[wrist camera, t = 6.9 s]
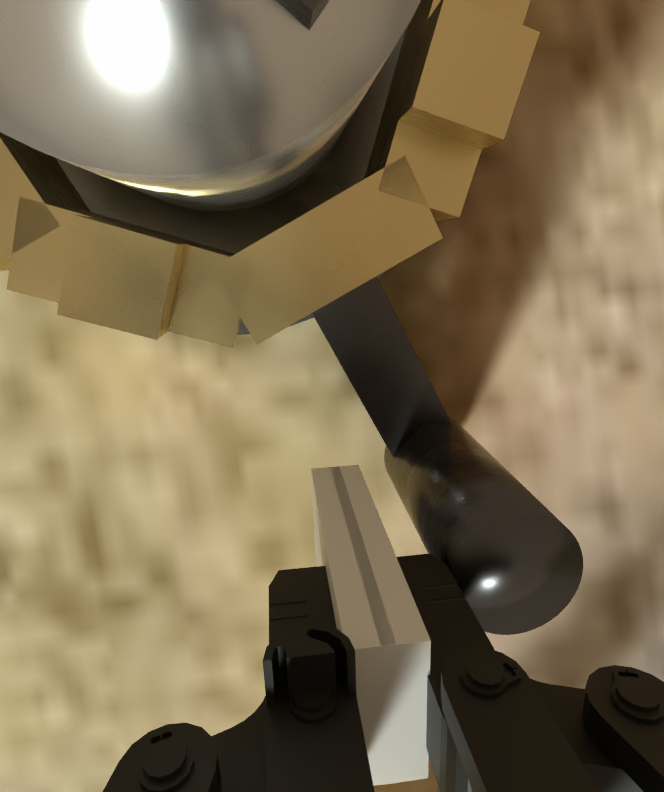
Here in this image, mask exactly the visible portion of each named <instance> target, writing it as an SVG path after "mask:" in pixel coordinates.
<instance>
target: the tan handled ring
mask: <svg viewBox="0 0 664 792" xmlns="http://www.w3.org/2000/svg"><path fill="white" fill-rule="evenodd" d="M530 1H531V0H421V1H420V3H419V5H418V7H417V10H416V12H415V14H414V16H413V17H412V19H411V21H410V22H409V24H408V26H407V28H406V32H405V36H404V39H403V43H402V46H401V50H400V53H399V57H398V60H397V64H396V67H395V71H394V75H393V78H392V82H391V85H390V89H389V92H388V96H387V99H386V103H385V106H384V110H383V113H382V117H381V121H380V124H379V128H378V131H377V135H376V138H375V142H374V145H373V149H372V152H371V156H370V159H369V163H368V167H367V170H366V174H365V177H364V180H362V181H360V182H359V183H357V184H355V185H353V186H352V187H350V188H348V189H347V190H345V191H343V192H341V193H340V194H338V195H336V196H335V197H333V198H331V199H329V200H328V201H326V202H324V203H322V204H321V205H319V206H317V207H316V208H314V209H312V210H310V211H309V212H307V213H305V214H304V215H302V216H300V217H298V218H297V219H295V220H293V221H291V222H290V223H288V224H286V225H285V226H283V227H281V228H279V229H278V230H276V231H274V232H273V233H271V234H269V235H267V236H266V237H264V238H262V239H260V240H259V241H257V242H255V243H254V244H252V245H250V246H248V247H247V248H245V249H243V250H242V251H240V252H238V253H236V254H234V253H231V252H227V251H224V250H221V249H217V248H214V247H210V246H207V245H203V244H200V243H196V242H193V241H190V240H186V239H183V238H179V237H176V236H172V235H169V234H165V233H162V232H158V231H155V230H152V229H148V228H145V227H141V226H138V225H134V224H131V223H127V222H124V221H120V220H117V219H114V218H110V217H107V216H103V215H100V214H96V213H93V212H91V211H90V210H89V208H88V207H87V205H86V204H85V202H84V201H83V199H82V197H81V196H80V194H79V193H78V191H77V190H76V188H75V187H74V185H73V184H72V182H71V181H70V179H69V178H68V176H67V175H66V173H65V172H64V170H63V169H62V167H61V166H60V164H59V162H58V161H57V159H56V158H55V157H53V156H51V155H48V154H46V153H43V152H41V151H38V150H36V149H34V148H32V147H30V146H28V145H26V144H24V143H21V142H19V141H17V140H15V139H13V138H11V137H9V136H7V135H5V134H3V133H1V132H0V271H1V270H9V277H8V284H7V289H8V290H11V291H15V292H19V293H23V294H27V295H31V296H35V297H39V298H42V299H46V300H50V301H54V302H58V303H59V306H58V312H57V314H58V315H62V316H66V317H70V318H74V319H78V320H82V321H85V322H89V323H93V324H97V325H101V326H105V327H109V328H113V329H117V330H121V331H125V332H129V333H133V334H136V335H140V336H144V337H148V338H152V339H156V340H157V339H159V338H160V337H161V336H162V335H163V334H165V333H166V332H167V331H170V332H174V333H178V334H182V335H186V336H189V337H193V338H197V339H201V340H205V341H209V342H213V343H216V344H220V345H224V346H228V347H233V344H234V342H235V339H236V336H237V334H238V331H239V329H240V325H241V321H243V322H244V324H245V326H246V327H247V329H248V330H249V332H250V334H251V335H252V337H253V339H254V340H255V342H256V344H258V343H260V342H262V341H264V340H265V339H267V338H269V337H271V336H272V335H274V334H276V333H278V332H279V331H281V330H283V329H285V328H286V327H288V326H290V325H292V324H293V323H295V322H297V321H299V320H300V319H302V318H304V317H306V316H307V315H309V314H311V313H312V314H313V316H314V318H315V319H316V321H317V323H318V325H319V326H320V328H321V330H322V332H323V334H324V335H325V337H326V339H327V341H328V342H329V344H330V346H331V348H332V350H333V351H334V353H335V355H336V357H337V358H338V360H339V362H340V364H341V366H342V367H343V369H344V371H345V373H346V374H347V376H348V378H349V380H350V382H351V383H352V385H353V387H354V389H355V390H356V392H357V394H358V396H359V398H360V399H361V401H362V403H363V405H364V406H365V408H366V410H367V412H368V414H369V415H370V417H371V419H372V421H373V422H374V424H375V426H376V428H377V430H378V431H379V433H380V435H381V437H382V438H383V440H384V442H385V444H386V449H385V455H384V459H385V466H386V470H387V472H388V474H389V476H390V478H391V480H392V482H393V484H394V486H395V488H396V490H397V492H398V494H399V496H400V498H401V500H402V502H403V504H404V506H405V508H406V510H407V512H408V514H409V516H410V518H411V520H412V522H413V524H414V526H415V528H416V530H417V532H418V534H419V536H420V538H421V540H422V542H423V544H424V546H425V548H426V550H427V552H428V554H432V555H433V556H435V557H436V558H437V559H439V560H440V561H441V562H443V563H444V564H445V565H447V566H448V568H449V569H450V571H451V573H452V575H453V577H454V578H455V580H456V582H457V586H459V587H460V589H461V591H462V593H463V594H464V596H465V600H467V602H468V603H469V605H470V607H471V609H472V611H473V612H474V614H475V616H476V618H477V619H478V621H479V623H480V625H481V627H482V628H483V630H484V631H485V632H489V633H493V634H501V635H510V634H518V633H523V632H527V631H530V630H533V629H535V628H537V627H540V626H542V625H544V624H545V623H547V622H549V621H550V620H552V619H553V618H554V617H556V616H557V615H558V614H559V613H560V612H561V611H562V610H563V609H564V608H565V607H566V606H567V605H568V604H569V602H570V601H571V599H572V598H573V596H574V595H575V593H576V591H577V589H578V586H579V584H580V581H581V577H582V571H583V557H582V552H581V549H580V546H579V543H578V542H577V540H576V538H575V536H574V535H573V534H572V533H571V531H570V530H569V529H568V528H566V527H565V526H564V525H563V524H562V523H561V522H560V521H559V520H558V519H557V518H556V517H555V516H554V515H553V514H552V513H551V512H550V511H549V510H548V509H547V508H546V507H545V506H544V505H543V504H542V503H540V502H539V501H538V500H537V499H536V498H535V497H534V496H533V495H532V494H531V493H530V492H529V491H528V490H527V489H526V488H525V487H524V486H523V485H522V484H521V483H520V482H519V481H518V480H517V479H515V478H514V477H513V476H512V475H511V474H510V473H509V472H508V471H507V470H506V469H505V468H504V467H503V466H502V465H501V464H500V463H499V462H498V461H497V460H496V459H495V458H494V457H493V456H492V455H491V454H489V453H488V452H487V451H486V450H485V449H484V448H483V447H482V446H481V445H480V444H479V443H478V442H477V441H476V440H475V439H474V438H473V437H472V436H471V435H470V434H469V433H468V432H467V431H466V430H465V429H463V428H462V427H461V426H460V425H459V424H458V423H457V422H456V421H455V420H453V419H452V418H450V417H448V416H447V414H446V412H445V410H444V408H443V406H442V404H441V402H440V400H439V398H438V396H437V394H436V392H435V390H434V388H433V386H432V384H431V383H430V381H429V379H428V377H427V375H426V373H425V371H424V369H423V367H422V365H421V363H420V361H419V359H418V357H417V355H416V353H415V351H414V349H413V347H412V345H411V343H410V341H409V339H408V338H407V336H406V334H405V332H404V330H403V328H402V326H401V324H400V322H399V320H398V318H397V316H396V314H395V312H394V310H393V308H392V306H391V304H390V302H389V300H388V298H387V296H386V294H385V293H384V291H383V289H382V287H381V285H380V283H379V281H378V279H377V277H376V276H377V275H379V274H381V273H383V272H384V271H386V270H388V269H390V268H391V267H393V266H395V265H397V264H398V263H400V262H402V261H404V260H405V259H407V258H409V257H411V256H412V255H414V254H416V253H418V252H419V251H421V250H423V249H425V248H426V247H428V246H430V245H432V244H433V243H435V242H437V241H439V240H440V239H442V238H443V237H442V235H441V232H440V230H439V228H438V226H437V224H436V222H435V221H438V220H445V219H452V218H459V217H460V215H461V212H462V209H463V205H464V202H465V199H466V196H467V193H468V190H469V187H470V184H471V181H472V178H473V175H474V172H475V169H476V166H477V163H478V160H479V157H480V154H481V151H482V149H485V148H487V147H489V146H491V145H493V144H496V143H498V142H500V141H502V140H504V138H505V135H506V132H507V129H508V126H509V123H510V120H511V117H512V114H513V111H514V108H515V105H516V102H517V99H518V96H519V93H520V90H521V88H522V85H523V82H524V79H525V76H526V73H527V70H528V67H529V64H530V61H531V58H532V55H533V52H534V49H535V46H536V43H537V40H538V37H539V34H540V32H539V31H536V30H534V29H532V28H529V27H527V26H524V25H523V23H524V20H525V17H526V14H527V11H528V7H529V4H530Z"/></svg>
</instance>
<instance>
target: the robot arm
mask: <svg viewBox="0 0 664 792" xmlns="http://www.w3.org/2000/svg"><path fill="white" fill-rule="evenodd" d="M311 479H312V498H313V518H314V537H315V556H316V564H317V567H309V568H299V569H289V570H279V571H278V572H277V574H276V576H275V577H274V579H273V581H272V582H271V584H270V586H269V645H268V646H267V647H266V651H265V655H264V658H263V668H264V679H265V690H266V696H265V698H264V701H263V702H262V704H261V705H260V706H259V707H258V709H257V710H256V711H255V712H254V713H253V714H252V715H251V716H249V717H248V718H247V719H246V720H245V721H243V722H241V723H239V724H238V725H236V726H234V727H232V728H230V729H228V730H225V731H223V732H221V733H218V734H216V735H214V736H210V735H209V734H208V733H207V732H206V731H205V730H204V729H203V728H202V727H198V726H195V725H192V724H188V723H179V724H168V725H165V726H163V727H160V728H158V729H155V730H153V731H150V732H148V733H147V734H146V735H144V736H143V737H142V738H140V739H139V740H138V741H136V742H135V743H134V744H132V745H131V747H130V748H129V749H128V751H127V752H126V753H125V755H124V756H123V757H122V759H121V760H120V761H119V763H118V765H117V766H116V768H115V770H114V772H113V774H112V776H111V778H110V779H109V781H108V783H107V785H106V787H105V789H104V790H103V792H374V786H376V785H386V784H393V783H399V782H406V781H413V780H420V779H427V778H428V764H429V757H430V760H431V764H432V767H433V770H434V773H435V776H436V779H437V782H438V792H664V682H663V681H661V680H660V679H658V678H656V677H655V676H653V675H651V674H649V673H646V672H643V671H641V670H638V669H635V668H632V667H624V666H616V665H614V666H608V667H602V668H599V669H597V670H596V671H595V672H593V673H592V674H591V675H589V678H588V681H587V684H586V689H578V688H572V687H565V686H558V685H551V684H546V683H542V682H538V681H535V680H532V679H530V678H529V677H528V675H527V673H526V672H525V671H524V670H523V669H522V668H521V667H520V665H519V664H518V663H517V662H516V661H514V660H513V659H511V658H509V657H508V656H506V655H504V654H503V653H501V652H497V651H495V650H494V648H493V646H492V645H491V643H490V641H489V639H488V637H487V636H486V634H485V632H484V630H483V628H482V627H481V625H480V623H479V621H478V619H477V618H476V616H475V614H474V612H473V611H472V609H471V607H470V605H469V603H468V602H467V600H465V596H464V594H463V593H462V591H461V589H460V587H459V586H457V582H456V580H455V578H454V577H453V575H452V573H451V571H450V569H449V568H448V566H447V565H445V564H444V563H443V562H441V561H440V560H439V559H437V558H436V557H435V556H433V555H432V554H422V555H412V556H402V557H396V555H395V553H394V550H393V548H392V545H391V543H390V541H389V538H388V536H387V533H386V531H385V528H384V526H383V524H382V521H381V519H380V516H379V514H378V511H377V509H376V507H375V504H374V502H373V499H372V497H371V494H370V492H369V490H368V487H367V485H366V482H365V480H364V478H363V475H362V473H361V470H360V468H359V465H353V466H341V467H327V468H315V469H311Z"/></svg>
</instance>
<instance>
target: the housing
mask: <svg viewBox="0 0 664 792" xmlns="http://www.w3.org/2000/svg"><path fill="white" fill-rule="evenodd" d="M420 1H421V0H0V132H1V133H3V134H5V135H7V136H9V137H11V138H13V139H15V140H17V141H19V142H21V143H24V144H26V145H28V146H30V147H32V148H34V149H36V150H38V151H41V152H43V153H46V154H48V155H51V156H53V157H55V158H56V159H57V161H58V162H59V164H60V166H61V167H62V169H63V170H64V172H65V173H66V175H67V176H68V178H69V179H70V181H71V182H72V184H73V185H74V187H75V188H76V190H77V191H78V193H79V194H80V196H81V197H82V199H83V201H84V202H85V204H86V205H87V207H88V208H89V210H90V211H91V212H93V213H96V214H100V215H103V216H107V217H110V218H114V219H117V220H120V221H124V222H127V223H131V224H134V225H138V226H141V227H145V228H148V229H152V230H155V231H158V232H162V233H165V234H169V235H172V236H176V237H179V238H183V239H186V240H190V241H193V242H196V243H200V244H203V245H207V246H210V247H214V248H217V249H221V250H224V251H227V252H231V253H234V254H236V253H238V252H240V251H242V250H243V249H245V248H247V247H248V246H250V245H252V244H254V243H255V242H257V241H259V240H260V239H262V238H264V237H266V236H267V235H269V234H271V233H273V232H274V231H276V230H278V229H279V228H281V227H283V226H285V225H286V224H288V223H290V222H291V221H293V220H295V219H297V218H298V217H300V216H302V215H304V214H305V213H307V212H309V211H310V210H312V209H314V208H316V207H317V206H319V205H321V204H322V203H324V202H326V201H328V200H329V199H331V198H333V197H335V196H336V195H338V194H340V193H341V192H343V191H345V190H347V189H348V188H350V187H352V186H353V185H355V184H357V183H359V182H360V181H362V180H364V177H365V174H366V170H367V167H368V163H369V159H370V156H371V152H372V149H373V145H374V142H375V138H376V135H377V131H378V128H379V124H380V121H381V117H382V113H383V110H384V106H385V103H386V99H387V96H388V92H389V89H390V85H391V82H392V78H393V75H394V71H395V67H396V64H397V60H398V57H399V53H400V50H401V46H402V43H403V39H404V36H405V32H406V28H407V26H408V24H409V22H410V21H411V19H412V17H413V16H414V14H415V12H416V10H417V7H418V5H419V3H420ZM391 268H392V267H391ZM391 268H390V269H391ZM390 269H388V270H386V271H384V272H383V273H381V274H379V275H377V276H376V277H377V279H378V280H379V279H380V278H381V277H382V276H383V275H384V274H385V273H386V272H387V271H389V270H390ZM313 317H314V316H313V314H312V313H311V314H309V315H307V316H306V317H304V318H302V319H300V320H299V321H297V322H295V323H293V324H292V325H294V324H297V323H300V322H302V321H305V320H308V319H311V318H313ZM290 326H291V325H290ZM241 334H250V332H249V330H248V329H247V327H246V326H245V324H244V322H243V321H241V325H240V329H239V331H238V334H237V335H241Z"/></svg>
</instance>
